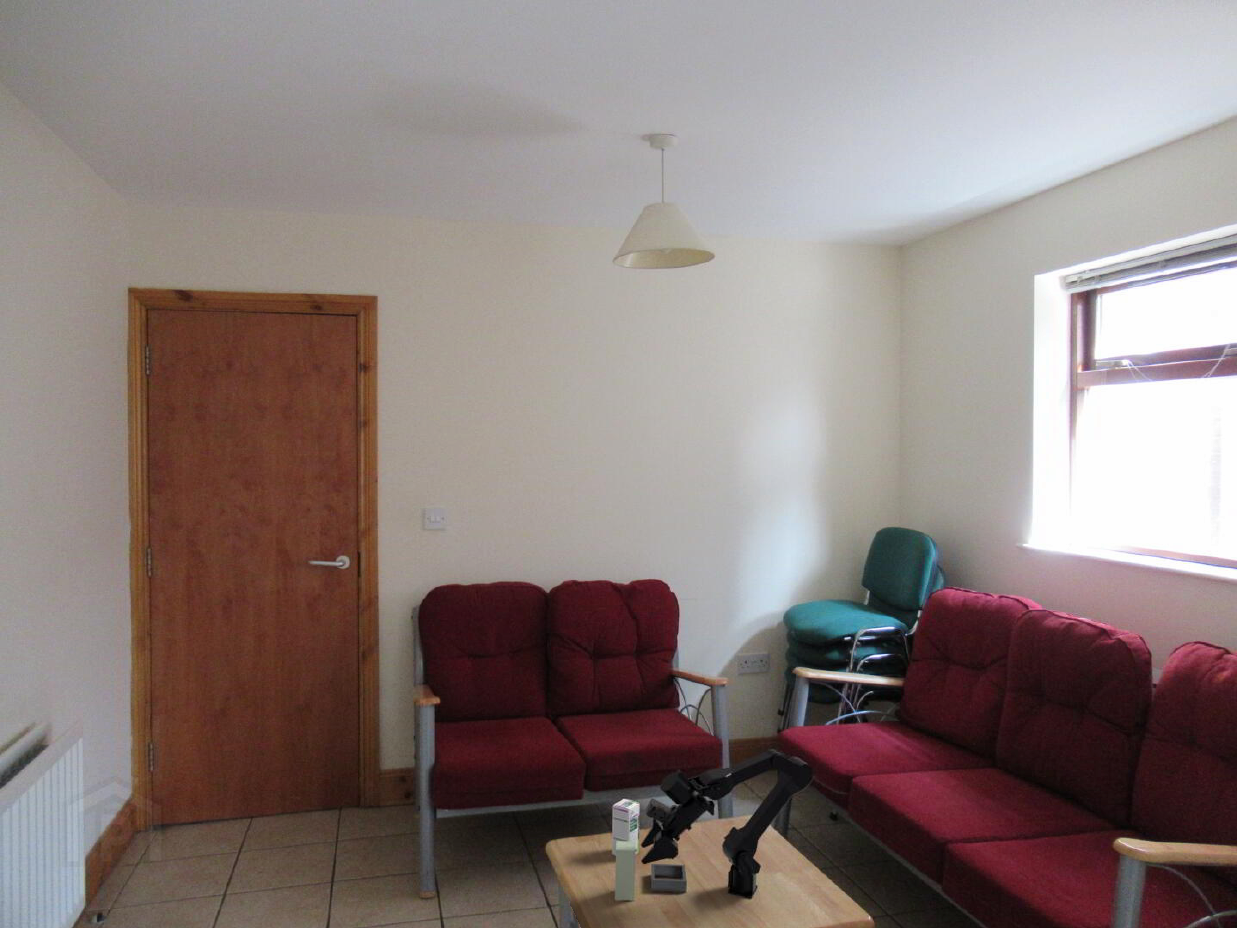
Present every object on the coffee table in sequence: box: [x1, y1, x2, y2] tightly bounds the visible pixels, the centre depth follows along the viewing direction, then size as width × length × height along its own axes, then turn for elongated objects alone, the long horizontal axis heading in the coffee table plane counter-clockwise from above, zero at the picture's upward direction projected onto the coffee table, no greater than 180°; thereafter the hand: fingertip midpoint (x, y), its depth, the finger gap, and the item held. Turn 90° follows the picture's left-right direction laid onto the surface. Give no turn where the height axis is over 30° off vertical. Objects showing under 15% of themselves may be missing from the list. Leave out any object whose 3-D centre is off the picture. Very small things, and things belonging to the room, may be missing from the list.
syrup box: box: [611, 798, 640, 857], centre depth 254 cm, size 6×6×14 cm
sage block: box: [614, 841, 637, 902], centre depth 231 cm, size 5×5×13 cm
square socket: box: [650, 863, 688, 894], centre depth 238 cm, size 9×9×3 cm
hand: (642, 854), depth 230 cm, fingers open, 9 cm apart
